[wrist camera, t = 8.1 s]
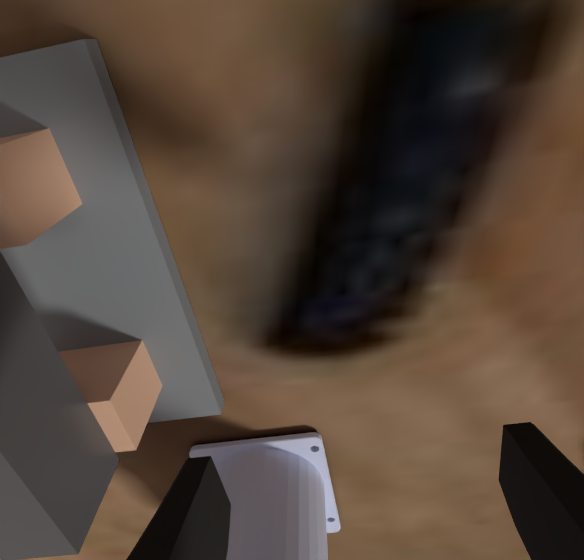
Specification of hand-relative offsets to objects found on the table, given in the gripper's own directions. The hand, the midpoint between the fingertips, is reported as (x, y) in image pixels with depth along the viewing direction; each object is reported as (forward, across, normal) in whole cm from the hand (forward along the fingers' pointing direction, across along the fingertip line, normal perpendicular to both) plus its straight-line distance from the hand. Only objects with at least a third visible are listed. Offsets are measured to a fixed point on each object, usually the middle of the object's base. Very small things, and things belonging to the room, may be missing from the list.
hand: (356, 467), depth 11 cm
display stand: (+10, +12, -2) cm, 16 cm away
